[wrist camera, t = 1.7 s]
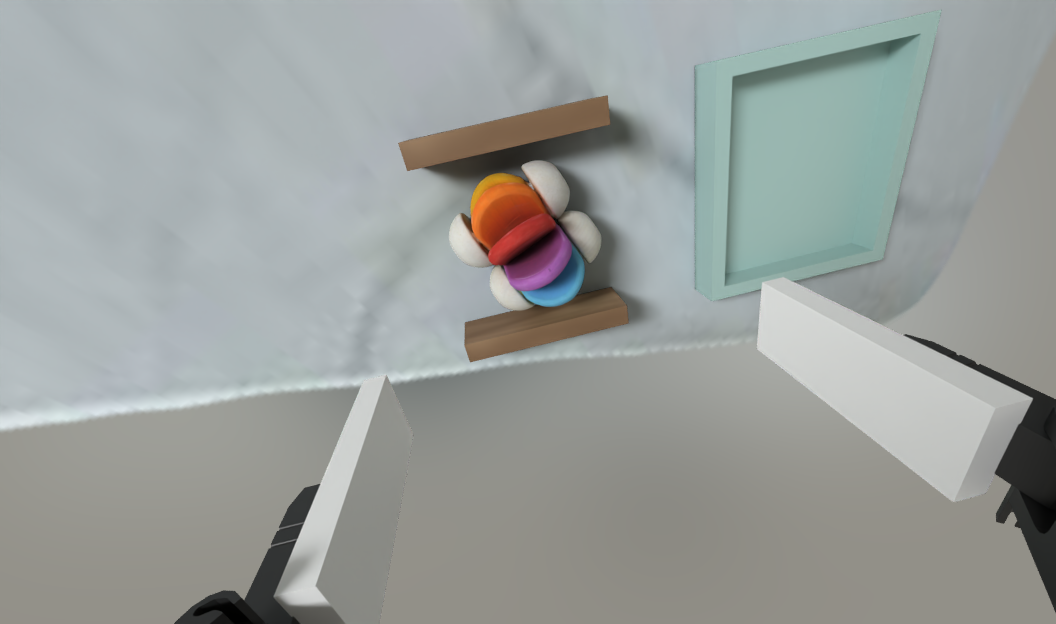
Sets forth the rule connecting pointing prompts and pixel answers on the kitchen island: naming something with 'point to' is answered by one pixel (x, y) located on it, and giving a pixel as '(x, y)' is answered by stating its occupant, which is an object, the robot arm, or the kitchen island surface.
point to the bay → (538, 320)
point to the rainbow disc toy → (527, 237)
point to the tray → (804, 153)
